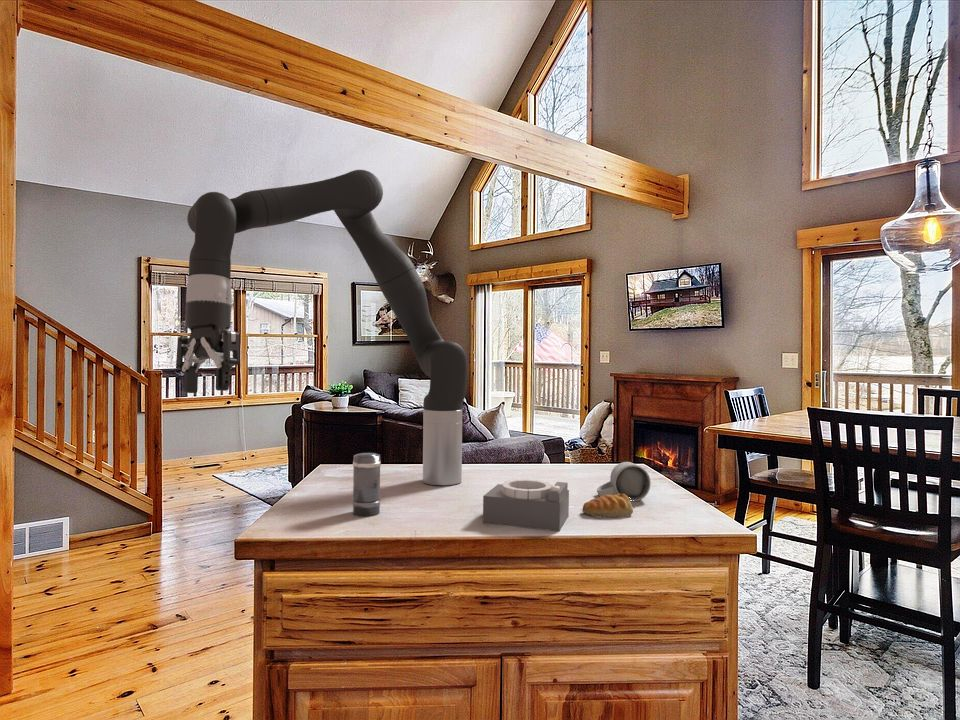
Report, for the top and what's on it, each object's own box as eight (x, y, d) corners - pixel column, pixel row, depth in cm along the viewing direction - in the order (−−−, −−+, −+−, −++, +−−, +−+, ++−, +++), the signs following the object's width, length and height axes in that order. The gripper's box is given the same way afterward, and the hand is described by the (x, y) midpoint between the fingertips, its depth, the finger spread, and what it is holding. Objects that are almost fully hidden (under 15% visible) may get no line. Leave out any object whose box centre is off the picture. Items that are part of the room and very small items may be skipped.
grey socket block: (497, 509, 118) (498, 472, 118) (568, 516, 114) (569, 477, 114) (482, 523, 109) (483, 483, 109) (559, 531, 105) (560, 489, 105)
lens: (360, 508, 118) (361, 451, 118) (384, 510, 116) (385, 453, 116) (347, 515, 113) (347, 455, 113) (372, 517, 111) (372, 457, 111)
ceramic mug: (641, 492, 134) (641, 458, 134) (651, 502, 126) (651, 465, 126) (593, 492, 134) (593, 458, 134) (600, 502, 126) (600, 465, 126)
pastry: (592, 521, 112) (593, 500, 112) (575, 511, 118) (575, 492, 118) (636, 517, 115) (636, 497, 115) (617, 508, 121) (617, 489, 121)
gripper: (252, 302, 109) (250, 390, 107) (201, 310, 116) (198, 394, 114) (217, 294, 103) (214, 388, 101) (165, 304, 110) (161, 392, 108)
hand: (206, 391), depth 108 cm, fingers open, 8 cm apart
